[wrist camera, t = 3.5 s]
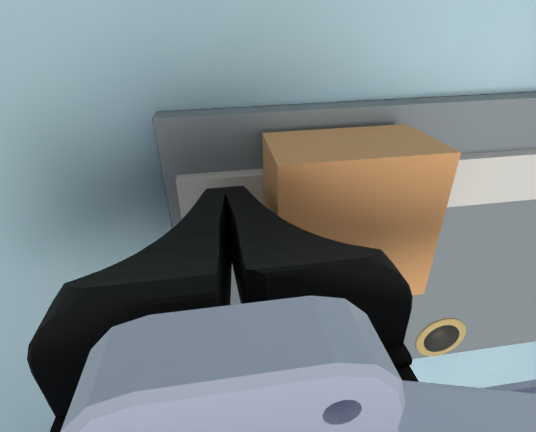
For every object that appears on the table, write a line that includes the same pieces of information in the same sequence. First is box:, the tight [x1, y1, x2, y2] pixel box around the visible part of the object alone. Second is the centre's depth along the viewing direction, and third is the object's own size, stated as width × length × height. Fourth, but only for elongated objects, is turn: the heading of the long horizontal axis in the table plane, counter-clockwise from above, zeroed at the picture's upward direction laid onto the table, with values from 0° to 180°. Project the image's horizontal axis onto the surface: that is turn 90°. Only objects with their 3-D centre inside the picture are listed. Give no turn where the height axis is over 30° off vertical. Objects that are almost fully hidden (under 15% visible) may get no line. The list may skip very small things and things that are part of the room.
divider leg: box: [262, 124, 461, 295], centre depth 13 cm, size 5×12×3 cm, turn 1°
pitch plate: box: [152, 92, 536, 359], centre depth 16 cm, size 20×14×2 cm
